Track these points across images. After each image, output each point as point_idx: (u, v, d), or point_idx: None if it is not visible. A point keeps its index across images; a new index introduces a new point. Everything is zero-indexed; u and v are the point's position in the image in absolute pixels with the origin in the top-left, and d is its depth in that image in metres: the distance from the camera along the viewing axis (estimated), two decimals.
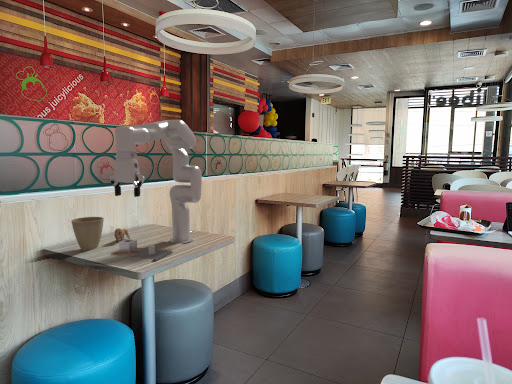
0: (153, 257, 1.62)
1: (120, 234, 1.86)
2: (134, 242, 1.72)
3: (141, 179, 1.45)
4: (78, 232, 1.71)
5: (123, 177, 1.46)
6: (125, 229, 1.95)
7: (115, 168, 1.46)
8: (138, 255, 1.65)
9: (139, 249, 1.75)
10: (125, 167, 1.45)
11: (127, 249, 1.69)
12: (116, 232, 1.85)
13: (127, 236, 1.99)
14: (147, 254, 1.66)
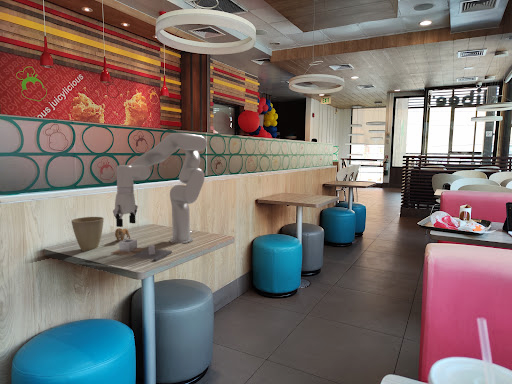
0: (153, 257, 1.62)
1: (121, 234, 1.87)
2: (134, 242, 1.72)
3: (136, 208, 1.77)
4: (78, 232, 1.71)
5: (129, 208, 1.69)
6: (125, 229, 1.96)
7: (124, 202, 1.65)
8: (138, 255, 1.65)
9: (139, 249, 1.75)
10: (131, 199, 1.70)
11: (127, 249, 1.69)
12: (117, 232, 1.86)
13: None
14: (147, 254, 1.66)
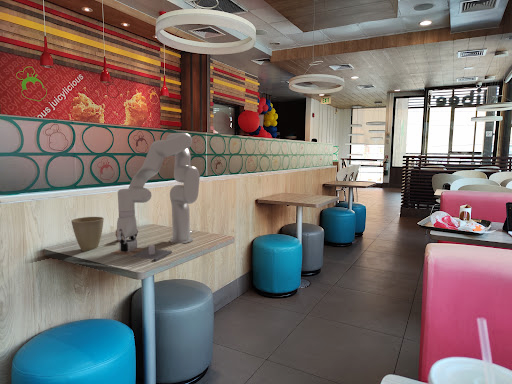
0: (153, 257, 1.62)
1: None
2: (134, 242, 1.72)
3: (137, 232, 1.78)
4: (78, 232, 1.71)
5: (131, 231, 1.71)
6: None
7: (126, 226, 1.67)
8: (138, 255, 1.65)
9: (139, 249, 1.75)
10: (133, 222, 1.72)
11: (127, 249, 1.69)
12: None
13: None
14: (147, 254, 1.66)
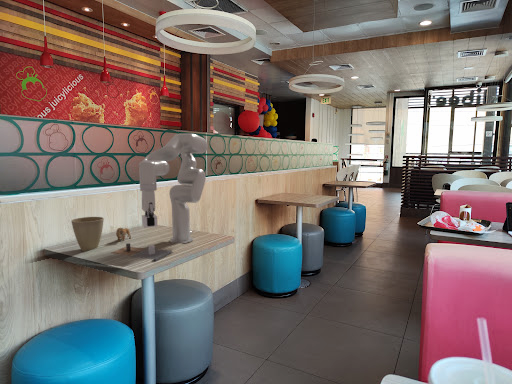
0: (153, 257, 1.62)
1: (122, 233, 1.88)
2: None
3: None
4: (78, 232, 1.71)
5: None
6: (126, 228, 1.97)
7: (154, 198, 1.62)
8: (138, 255, 1.65)
9: (139, 249, 1.75)
10: None
11: None
12: (118, 231, 1.87)
13: (128, 235, 2.00)
14: (147, 254, 1.66)
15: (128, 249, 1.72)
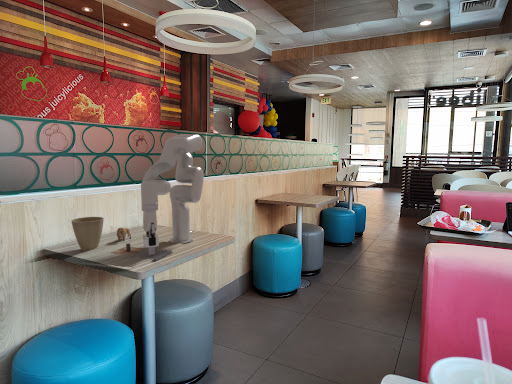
0: (153, 257, 1.62)
1: (122, 233, 1.88)
2: None
3: None
4: (78, 232, 1.71)
5: None
6: (127, 228, 1.97)
7: (156, 218, 1.63)
8: (138, 255, 1.65)
9: (139, 249, 1.75)
10: None
11: (156, 242, 1.65)
12: (118, 231, 1.87)
13: (128, 235, 2.01)
14: (147, 254, 1.66)
15: (128, 249, 1.72)
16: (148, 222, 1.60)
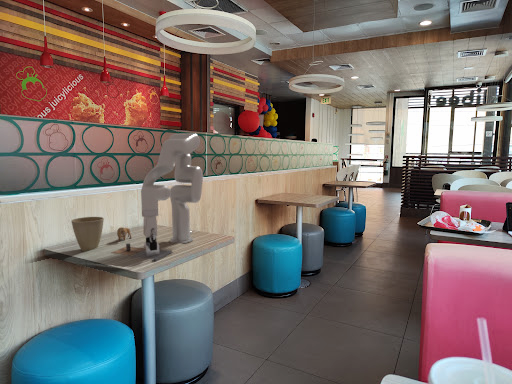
0: (153, 257, 1.62)
1: (123, 233, 1.89)
2: None
3: None
4: (78, 232, 1.71)
5: None
6: (127, 228, 1.98)
7: (156, 224, 1.64)
8: (138, 255, 1.65)
9: (139, 249, 1.75)
10: None
11: (156, 251, 1.66)
12: (119, 231, 1.88)
13: None
14: None
15: (128, 249, 1.72)
16: (148, 228, 1.61)
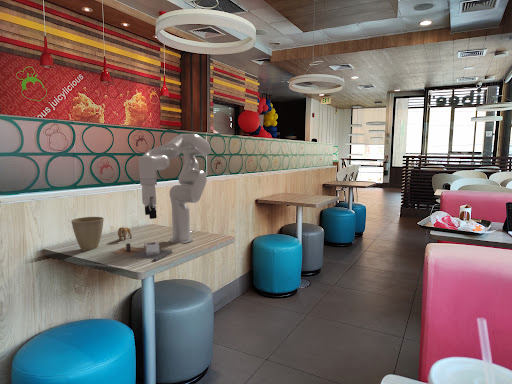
0: (153, 257, 1.62)
1: (124, 232, 1.89)
2: None
3: None
4: (78, 232, 1.71)
5: None
6: (127, 228, 1.98)
7: (155, 193, 1.64)
8: (138, 255, 1.65)
9: (139, 249, 1.75)
10: None
11: (156, 251, 1.66)
12: (120, 231, 1.89)
13: None
14: None
15: (128, 249, 1.72)
16: (147, 196, 1.62)
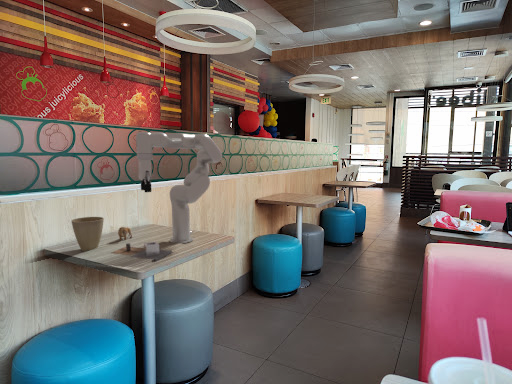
0: (153, 257, 1.62)
1: (124, 232, 1.90)
2: None
3: None
4: (78, 232, 1.71)
5: None
6: None
7: None
8: (138, 255, 1.65)
9: (139, 249, 1.75)
10: None
11: (156, 251, 1.66)
12: (120, 230, 1.89)
13: (129, 234, 2.03)
14: None
15: (128, 249, 1.72)
16: (143, 170, 1.69)
